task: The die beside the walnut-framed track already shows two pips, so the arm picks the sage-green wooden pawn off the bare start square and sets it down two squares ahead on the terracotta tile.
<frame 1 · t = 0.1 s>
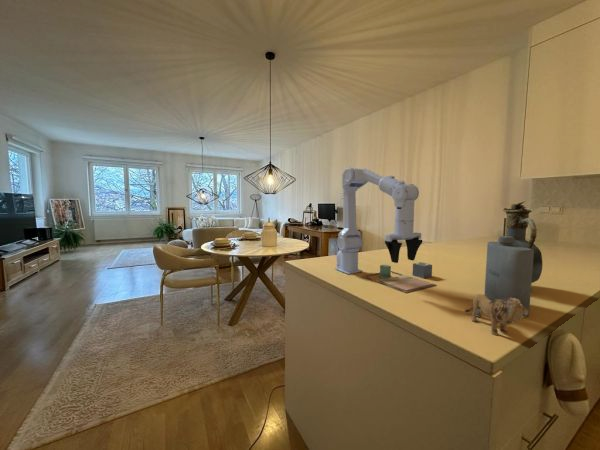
hand: (402, 261, 83), 10 cm above the countertop, tool pointing down, fingers open, 7 cm apart
die: (422, 276, 100), on the countertop
board: (397, 281, 93), on the countertop
flask: (502, 306, 71), on the countertop
pitcher: (514, 289, 84), on the countertop
pawn: (385, 277, 99), on the countertop
lion figurine: (491, 328, 58), on the countertop
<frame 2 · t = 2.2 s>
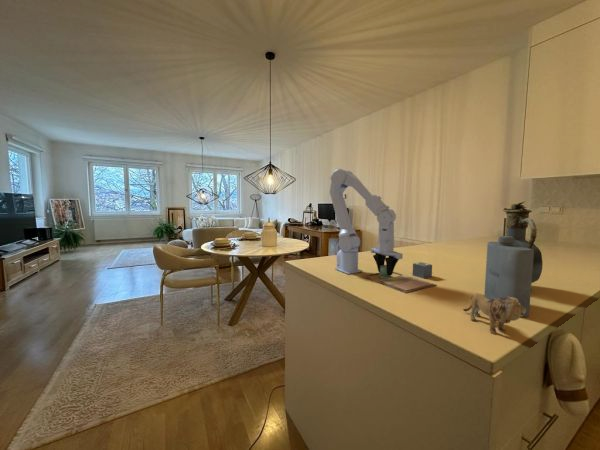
hand: (385, 273, 99), 1 cm above the countertop, tool pointing down, fingers closed on pawn, 4 cm apart
pawn: (385, 276, 99), on the countertop, touching gripper
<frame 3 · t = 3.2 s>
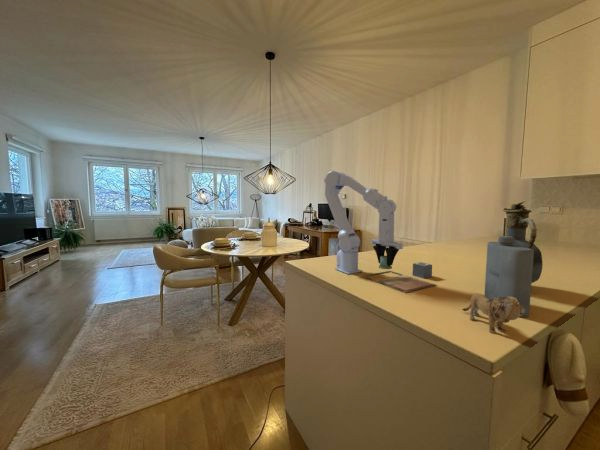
hand: (385, 264, 98), 5 cm above the countertop, tool pointing down, fingers closed on pawn, 4 cm apart
pawn: (385, 267, 99), point 4 cm above the countertop, touching gripper
everything else where it was.
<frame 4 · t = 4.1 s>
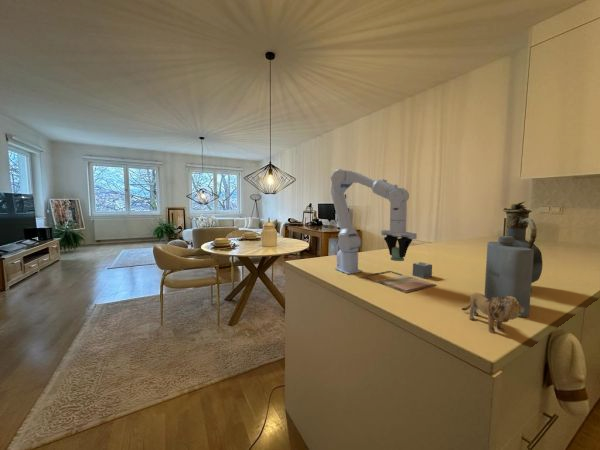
hand: (397, 256, 93), 10 cm above the countertop, tool pointing down, fingers closed on pawn, 4 cm apart
pawn: (397, 259, 93), point 8 cm above the countertop, touching gripper
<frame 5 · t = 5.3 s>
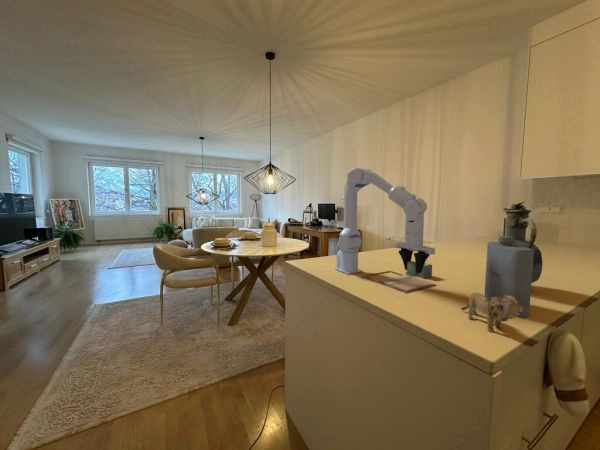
hand: (413, 271, 87), 5 cm above the countertop, tool pointing down, fingers closed on pawn, 4 cm apart
pawn: (413, 274, 87), point 4 cm above the countertop, touching gripper
when the fingers open (3 cm above the countertop, at t = 6.2 s): pawn stays where it is, resting on board.
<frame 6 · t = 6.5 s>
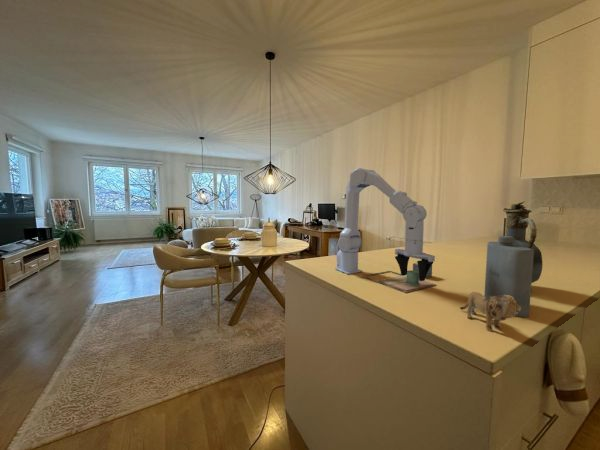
hand: (412, 277, 87), 3 cm above the countertop, tool pointing down, fingers open, 7 cm apart
pawn: (412, 284, 88), point 1 cm above the countertop, touching board
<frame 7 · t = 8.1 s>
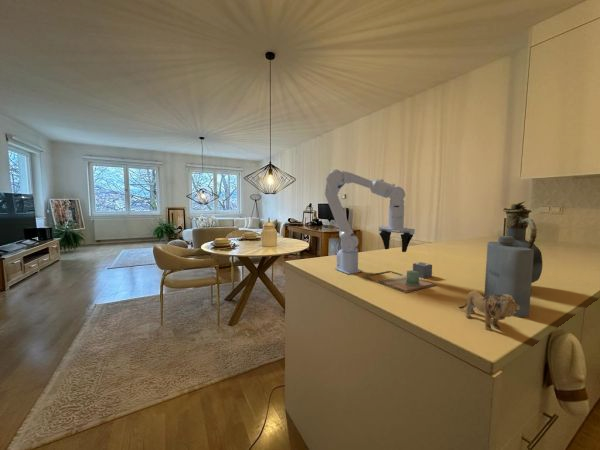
hand: (395, 250, 100), 10 cm above the countertop, tool pointing down, fingers open, 7 cm apart
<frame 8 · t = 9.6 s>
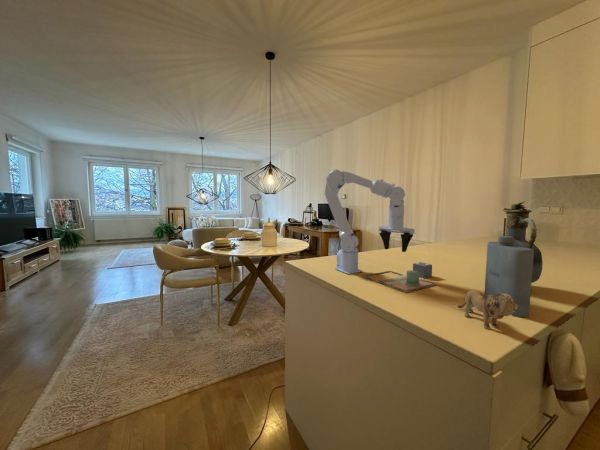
hand: (395, 250, 100), 10 cm above the countertop, tool pointing down, fingers open, 7 cm apart
at the end: pawn 0.0 cm from the target spot on the board, point 0.6 cm above the board's base; pawn tilted 0°; the gripper is holding nothing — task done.
